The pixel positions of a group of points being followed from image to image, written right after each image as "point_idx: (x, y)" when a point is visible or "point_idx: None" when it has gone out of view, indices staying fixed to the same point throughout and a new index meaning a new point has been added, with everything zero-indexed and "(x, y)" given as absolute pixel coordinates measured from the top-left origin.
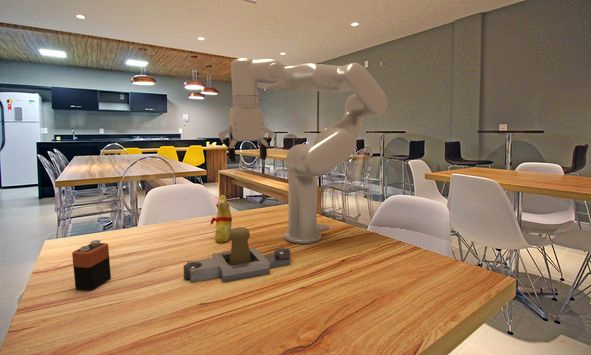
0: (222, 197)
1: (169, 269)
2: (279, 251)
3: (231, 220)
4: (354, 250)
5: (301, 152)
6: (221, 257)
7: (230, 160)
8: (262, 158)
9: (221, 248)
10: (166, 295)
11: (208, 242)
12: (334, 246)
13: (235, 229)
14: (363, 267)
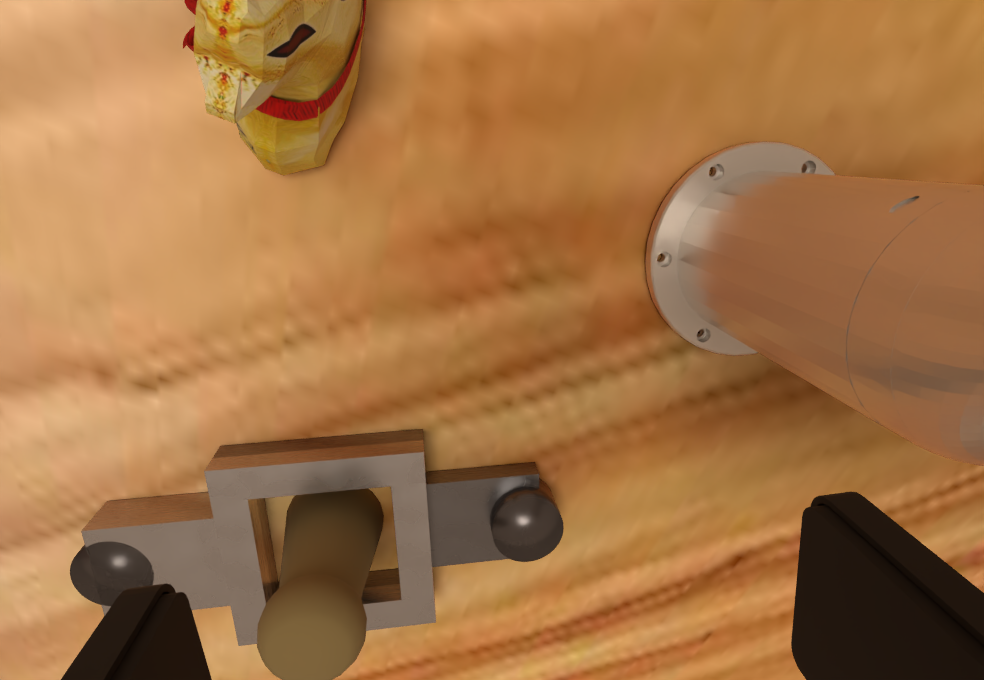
0: (227, 50)
1: (14, 439)
2: (514, 531)
3: (352, 65)
4: (844, 485)
5: None
6: (245, 524)
7: (129, 604)
8: (802, 616)
9: (277, 250)
10: (47, 646)
11: (204, 109)
12: (805, 418)
13: (283, 662)
14: (759, 626)
